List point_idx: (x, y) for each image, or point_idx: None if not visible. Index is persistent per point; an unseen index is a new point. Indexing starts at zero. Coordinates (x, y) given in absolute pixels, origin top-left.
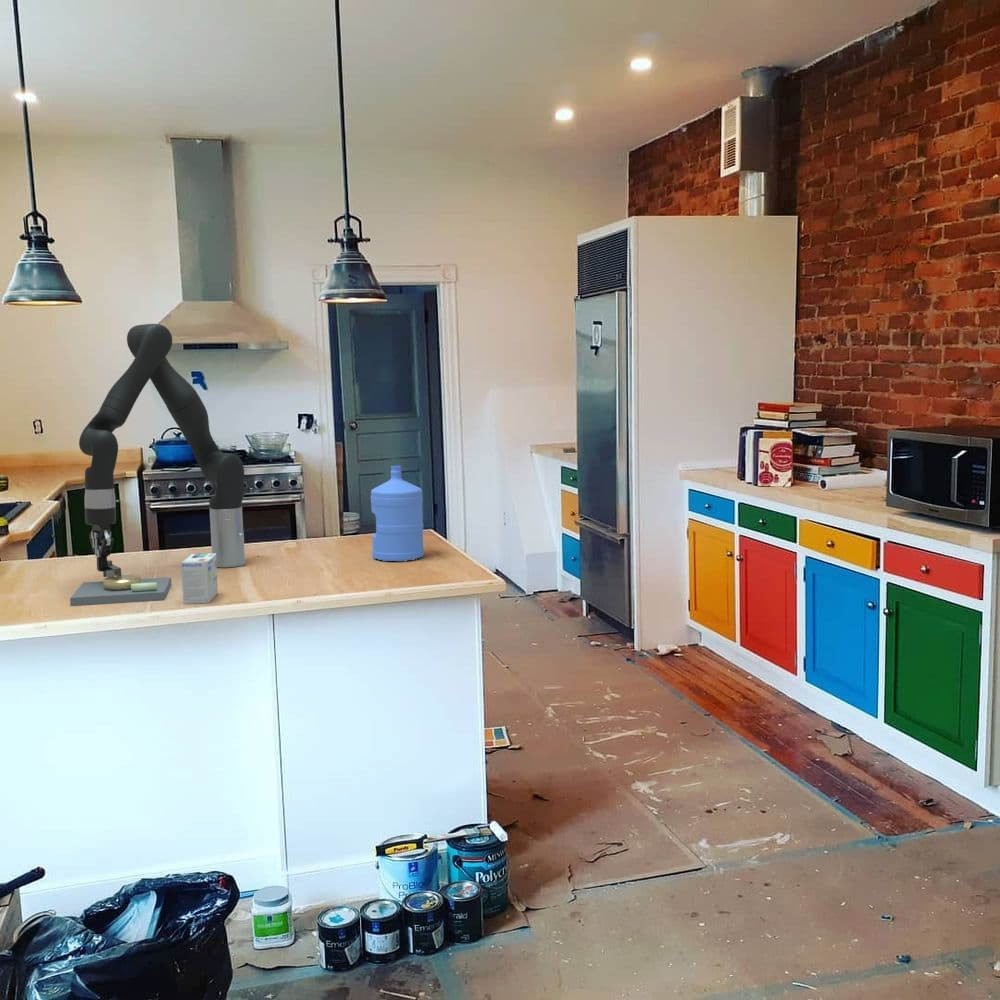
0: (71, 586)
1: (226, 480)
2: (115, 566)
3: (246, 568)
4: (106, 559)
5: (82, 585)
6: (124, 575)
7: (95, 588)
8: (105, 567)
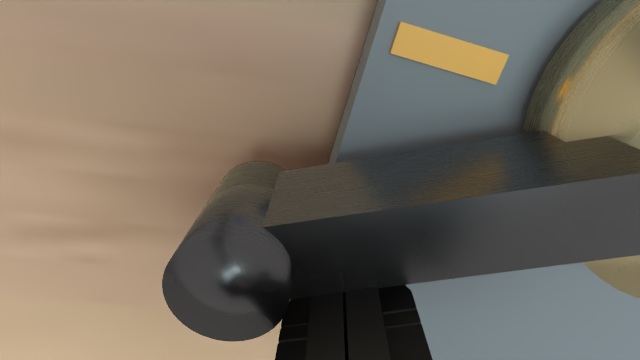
0: (145, 345)
1: None
2: (491, 211)
3: None
4: (393, 358)
5: None
6: (620, 103)
7: (551, 302)
8: (411, 301)
